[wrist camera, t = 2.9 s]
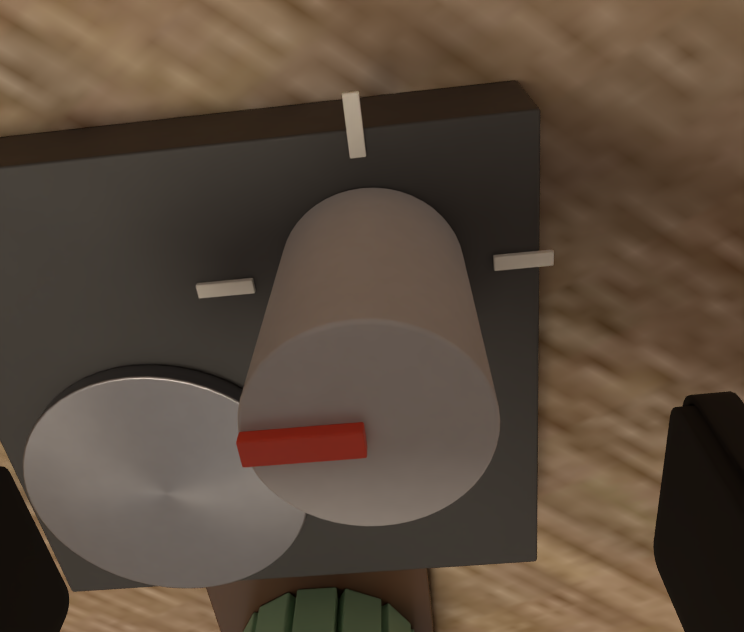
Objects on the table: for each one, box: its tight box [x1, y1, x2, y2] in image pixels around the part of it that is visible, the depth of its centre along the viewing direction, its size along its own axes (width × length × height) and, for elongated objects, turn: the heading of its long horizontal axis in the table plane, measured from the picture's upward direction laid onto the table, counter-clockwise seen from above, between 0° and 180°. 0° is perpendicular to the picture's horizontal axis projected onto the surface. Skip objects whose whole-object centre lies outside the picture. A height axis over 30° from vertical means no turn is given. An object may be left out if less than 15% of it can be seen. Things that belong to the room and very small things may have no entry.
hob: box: [0, 81, 554, 592], centre depth 20 cm, size 15×15×3 cm
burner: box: [23, 365, 307, 588], centre depth 20 cm, size 8×8×1 cm
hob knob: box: [236, 188, 500, 526], centre depth 14 cm, size 4×4×6 cm
